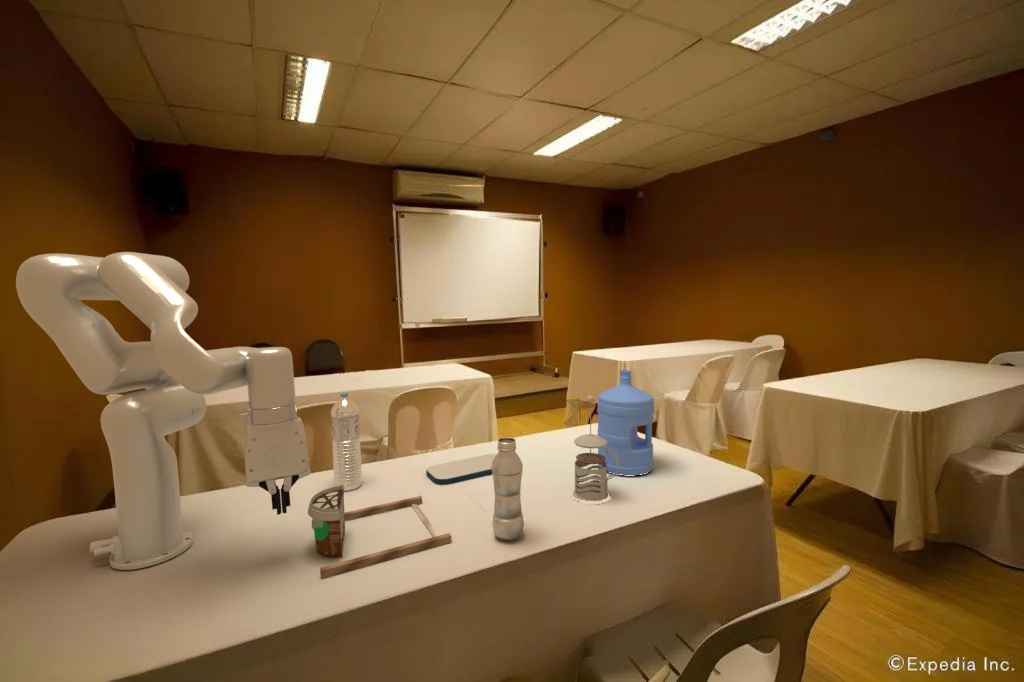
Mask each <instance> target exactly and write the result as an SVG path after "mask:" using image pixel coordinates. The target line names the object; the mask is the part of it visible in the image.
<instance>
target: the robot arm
mask: <svg viewBox="0 0 1024 682" xmlns="http://www.w3.org/2000/svg"><path fill="white" fill-rule="evenodd" d="M15 276H16V278H15V286H16V293H17V296H18V299H19V301H20V303H21V305H22V307H23V309H24V310H25V311H26V312H27V314H28V316H30V318H31V319H32V320H33V321H34V322H35V323H36V324H37V325H38V326H39V327H40V328H41V329H42V330H43V331H45V333H46V334H47V335H48V337H49V338H50V339H51V340H52V341H53V342H54V343H55V346H56V347H57V348H58V349H59V351H60V352H61V354H62V355H63V357H64V358H65V360H66V361H67V363H68V364H69V365H70V367H71V368H72V370H73V371H74V373H75V374H76V375H77V377H78V378H79V379H80V381H81V383H82V384H83V385H84V386H85V387H86V388H87V389H88V390H89V391H90V392H92V393H94V394H97V395H106V396H107V395H114V394H120V393H127V392H130V391H131V392H130V393H127V394H123V395H121V396H118V397H117V398H115V399H113V400H111V401H110V402H109V403H108V404H107V405H106V406H105V407H104V408H103V410H102V412H101V415H100V425H101V427H100V428H101V430H102V434H103V435H104V439H105V441H106V444H107V447H108V451H109V456H110V460H111V465H112V467H111V469H112V477H113V488H114V496H115V497H114V499H115V507H116V508H115V510H116V520H117V521H116V522H117V531H118V533H117V534H118V535H114V536H112V538H108V539H100V540H95V541H91V542H90V544H89V553H90V554H91V553H93V556H94V557H97V556H102V555H105V554H109V553H110V554H111V555H110V556H109V558H108V559H109V565H110V567H111V568H113V569H115V570H121V571H122V570H123V571H132V570H139V569H143V568H148V567H151V566H154V565H158V564H162V563H163V562H167V561H168V560H171V559H174V558H175V557H177V556H179V555H180V554H182V553H184V552H185V551H186V550H188V549H189V548H190V547H191V546H192V544H193V543H194V536H193V533H192V532H191V531H188V530H183V516H182V505H181V503H182V502H181V491H180V478H179V467H178V465H179V464H178V458H177V454H176V453H175V450H174V449H173V448H172V447H171V445H170V444H169V443H168V442H167V440H166V438H165V436H168V435H170V434H173V433H176V432H179V431H182V430H185V429H188V428H190V427H193V426H195V425H196V424H198V423H200V422H201V421H202V420H203V418H204V417H205V415H206V412H207V402H206V398H205V395H213V394H217V393H221V392H225V391H229V390H234V389H238V388H241V387H247V394H248V395H247V396H248V406H249V407H248V409H247V410H246V411H245V410H244V412H240V415H239V416H240V420H241V421H242V420H243V421H245V420H246V421H248V422H249V423H248V424H247V425H246V426H245V432H244V468H245V469H244V471H245V475H246V476H245V477H246V480H245V486H246V487H247V488H257V487H259V488H261V489H263V490H265V491H266V492H268V494H270V496H271V506H272V507H271V509H272V511H273V510H276V515H277V516H279V515H281V514H287V513H288V512H287V511H288V509H287V507H291V495H290V491H291V489H292V487H293V486H294V485H295V484H296V483H297V482H298V480H300V479H303V478H305V477H307V476H309V475H311V473H312V471H311V468H310V465H309V451H308V444H307V443H308V442H307V436H306V431H305V426H304V422H303V420H302V418H301V417H299V416H298V413H297V400H296V385H295V376H294V362H293V354H292V351H291V350H290V348H288V347H284V346H272V347H271V346H270V347H269V346H268V347H252V346H233V347H224V348H217V349H208V350H206V349H204V348H203V347H202V346H201V345H200V344H199V343H197V342H196V341H195V340H194V339H193V338H192V337H191V336H190V335H189V334H188V333H187V332H186V330H185V329H186V328H187V327H188V326H190V325H191V324H192V323H193V321H194V320H195V319H196V318H197V315H198V312H199V306H198V303H197V302H196V301H195V300H194V298H192V297H191V296H190V295H189V294H188V293H187V292H186V291H187V290H188V289H189V285H190V276H189V274H188V271H187V270H186V268H185V267H184V265H182V264H181V262H179V261H177V260H176V259H174V258H172V257H170V256H165V255H158V254H150V253H142V252H141V253H140V252H135V251H122V252H121V251H120V252H114V253H112V254H108V255H106V256H105V257H102V256H92V255H91V256H90V255H83V254H72V253H71V254H70V253H58V252H57V253H44V254H38V255H35V256H32V257H29V258H28V259H27V258H26V260H24V261H23V262H22V263H21V264H20V266H19V267H18V270H17V272H16V275H15ZM82 301H119V302H120V303H121V304H122V305H124V307H126V308H127V309H128V310H129V311H130V312H131V313H132V314H133V315H135V316H136V318H138V319H139V320H140V321H141V322H142V323H143V324H145V326H146V327H148V328H149V330H150V341H134V342H133V341H132V342H130V341H126V340H124V339H123V338H122V337H121V336H120V334H119V333H118V332H117V331H116V330H115V328H114V326H113V325H112V324H111V322H110V321H109V320H108V319H107V318H106V317H105V316H104V315H102V313H100V312H98V311H96V310H95V309H93V308H92V307H90V306H88V305H86V304H85V303H84V302H82ZM141 389H142V390H141ZM135 390H136V391H135ZM137 390H139V391H137ZM132 391H135V392H132ZM281 478H283V483H282V484H281V488H279V486H278V485H277V483H276V480H277V479H281Z"/></svg>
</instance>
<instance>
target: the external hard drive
mask: <svg viewBox="0 0 1024 682" xmlns="http://www.w3.org/2000/svg"><path fill="white" fill-rule="evenodd" d="M496 455H497V453H495V454H494V453H492V454H491V453H489V454H484V455H479V456H475V457H470V458H465V459H460V460H454V461H450V462H444V463H439V464H436V465H432V466H430V467H429V466H428V467H427V468H426V470H425V471H426V472H425V473H426V476H427V477H428V479H430V480H431V482H433V483H434V484H435V485H439V486H447V485H452V484H457V483H460V482H464V481H465V482H466V481H469V480H473V479H478V478H482V477H485V476H492V467H491V466H492V462H493V460H494V458H495V456H496Z"/></svg>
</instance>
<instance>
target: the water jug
mask: <svg viewBox="0 0 1024 682" xmlns="http://www.w3.org/2000/svg"><path fill="white" fill-rule="evenodd" d="M619 373H620V376H619V385H617V386H614V387H612V388H610V389H607V390H605V391H603V392H601V393H599V395H598V396H597V435H598V436H600V437H602V438H603V439H605V440H607V445H606V446H605V447H601V448H597V449H598V450H597V454H600V455H603V456H604V457H605V459H606V460H605V461H604V462H605V463H606V464H607V471H608V472H611V473H615V472H616V470H617V461H616V458H617V456H618V459H619V468H618V471H617V473H616V474H623V475H640V474H644V473H647V472H650V471H651V470H652V469H653V470H654V466H655V465H654V444H653V442H652V440H653V439H652V437H653V432H652V431H653V427H652V426H653V422H654V421H655V419H654V413H655V402H654V401H655V399H654V397H653V395H651V394H650V393H647V392H645V391H644V390H642V389H640V388H638V387H635V386H633V384H632V370H625V369H624V370H619ZM642 426H645V429H644V432H645V433H644V434H645V436H644V438H643V437H640V436H639V434H638V427H642ZM607 448H610V449H612V450H613V451H614V452H615V453H616V454H617V456H616V454H615V453H614V452H613V451H612V450H610V449H608V450H609V451H611V452H612V453H613V454H614V455H615V456H616V458H615V456H614V455H613V454H612V453H611V452H609V451H608V453H607V455H606V449H607ZM618 459H617V460H618ZM597 466H599V467H601V468H604V467H603V466H602V465H600V464H597ZM653 470H652V471H653ZM652 471H651V472H652ZM608 472H607V473H608ZM651 472H650V473H651Z"/></svg>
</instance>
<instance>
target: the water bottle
mask: <svg viewBox="0 0 1024 682" xmlns="http://www.w3.org/2000/svg"><path fill="white" fill-rule="evenodd" d="M339 397H340V399H339V400H338V401H336V402H335V403H334V404H333V406H332V407H331V409H330V416H331V429H332V430H331V432H332V434H331V435H332V440H331V442H332V443H331V445H332V463H333V484H334V487H335V486H340V485H343V487H344V492H349V491H353V490H357V489H358V488H360V487H361V486H362V483H363V478H362V475H363V474H362V473H363V472H362V455H361V453H362V452H361V451H362V450H361V436H360V419H359V418H360V416H359V415H360V409H359V406H358V405H357V403H356V402H355V401H354V400H352V399H350V398H349V392H341V393H340V395H339Z"/></svg>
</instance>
